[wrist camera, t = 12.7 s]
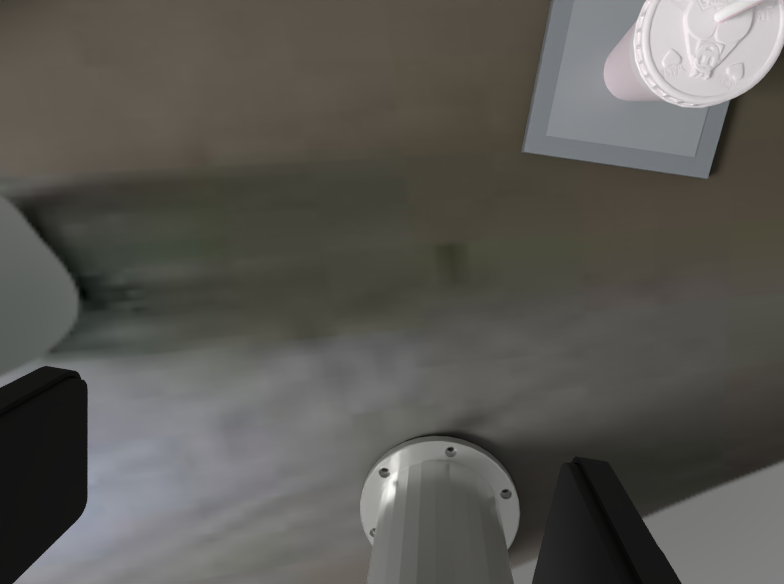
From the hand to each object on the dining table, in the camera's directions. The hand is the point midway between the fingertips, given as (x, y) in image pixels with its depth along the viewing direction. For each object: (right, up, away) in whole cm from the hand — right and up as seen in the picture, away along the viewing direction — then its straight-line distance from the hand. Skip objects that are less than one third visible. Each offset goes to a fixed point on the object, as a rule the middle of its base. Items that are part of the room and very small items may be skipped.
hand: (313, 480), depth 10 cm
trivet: (+17, +18, +24) cm, 34 cm away
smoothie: (+17, +18, +23) cm, 33 cm away
